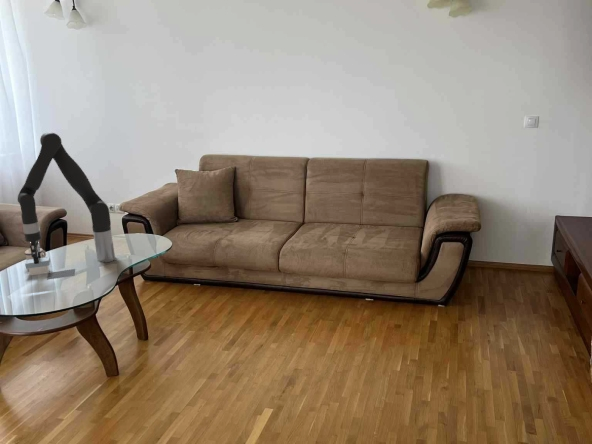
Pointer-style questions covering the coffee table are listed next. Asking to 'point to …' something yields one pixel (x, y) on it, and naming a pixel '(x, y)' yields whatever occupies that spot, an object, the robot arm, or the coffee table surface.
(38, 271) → the white open cubby box
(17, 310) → the coffee table surface
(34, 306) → the coffee table surface
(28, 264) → the lid
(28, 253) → the teacup with lid
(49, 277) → the mat
